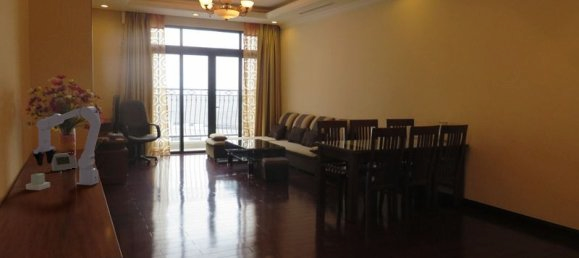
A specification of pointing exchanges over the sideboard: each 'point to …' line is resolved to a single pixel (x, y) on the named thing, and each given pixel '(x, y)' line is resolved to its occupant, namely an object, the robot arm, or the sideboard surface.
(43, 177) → the green block
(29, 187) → the grey base
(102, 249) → the sideboard surface
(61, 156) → the digital clock
